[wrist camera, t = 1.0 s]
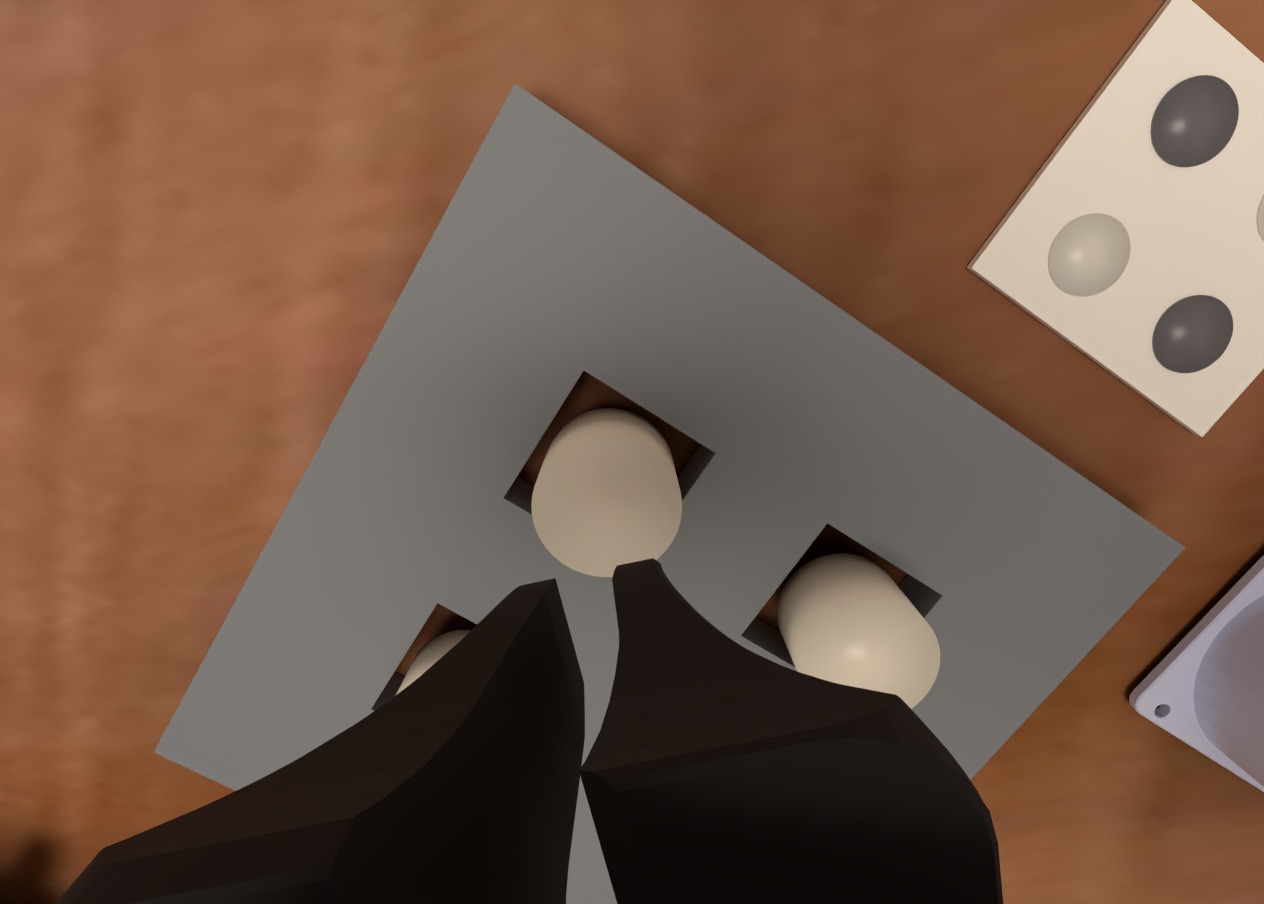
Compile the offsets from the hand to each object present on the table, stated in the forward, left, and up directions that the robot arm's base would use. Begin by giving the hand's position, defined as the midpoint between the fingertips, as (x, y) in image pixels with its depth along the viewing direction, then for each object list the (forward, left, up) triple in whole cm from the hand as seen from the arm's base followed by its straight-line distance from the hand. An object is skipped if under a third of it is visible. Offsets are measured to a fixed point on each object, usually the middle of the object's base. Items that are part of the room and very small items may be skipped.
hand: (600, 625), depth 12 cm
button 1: (-8, 0, -8) cm, 12 cm away
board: (-4, +4, -10) cm, 11 cm away
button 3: (0, 0, -8) cm, 8 cm away
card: (-10, -14, -10) cm, 20 cm away
